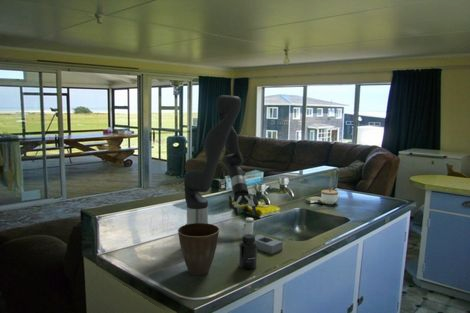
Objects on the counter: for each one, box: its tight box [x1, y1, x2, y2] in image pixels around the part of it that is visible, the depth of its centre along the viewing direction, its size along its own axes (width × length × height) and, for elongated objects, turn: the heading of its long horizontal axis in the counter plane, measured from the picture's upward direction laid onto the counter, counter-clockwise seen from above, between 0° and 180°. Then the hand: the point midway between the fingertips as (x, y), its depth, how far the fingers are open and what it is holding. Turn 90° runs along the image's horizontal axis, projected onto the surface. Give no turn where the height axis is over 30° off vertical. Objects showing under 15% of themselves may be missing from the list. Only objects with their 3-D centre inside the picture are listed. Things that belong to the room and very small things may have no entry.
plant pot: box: [177, 223, 220, 276], centre depth 132 cm, size 15×15×16 cm
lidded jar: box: [320, 188, 339, 205], centre depth 235 cm, size 11×11×9 cm
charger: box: [245, 217, 254, 235], centre depth 167 cm, size 4×4×10 cm
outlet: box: [254, 234, 283, 255], centre depth 156 cm, size 7×13×4 cm, turn 46°
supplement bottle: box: [238, 233, 258, 271], centre depth 137 cm, size 7×7×12 cm
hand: (246, 214), depth 172 cm, fingers open, 8 cm apart
